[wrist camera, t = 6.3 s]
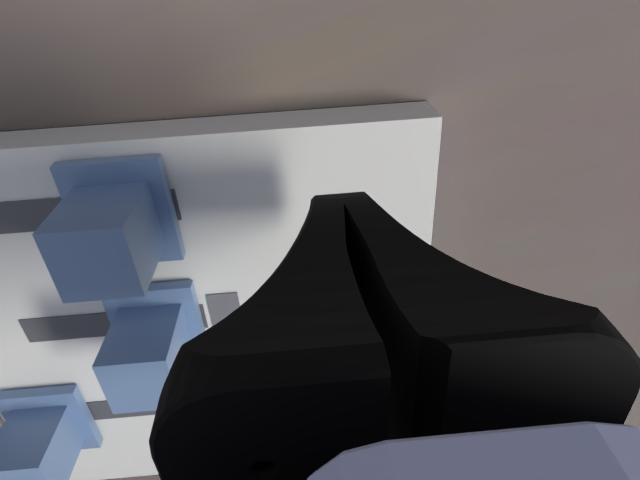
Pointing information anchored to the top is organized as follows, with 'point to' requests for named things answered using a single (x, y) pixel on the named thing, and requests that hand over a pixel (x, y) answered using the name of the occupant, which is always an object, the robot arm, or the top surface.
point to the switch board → (195, 228)
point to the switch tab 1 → (44, 432)
